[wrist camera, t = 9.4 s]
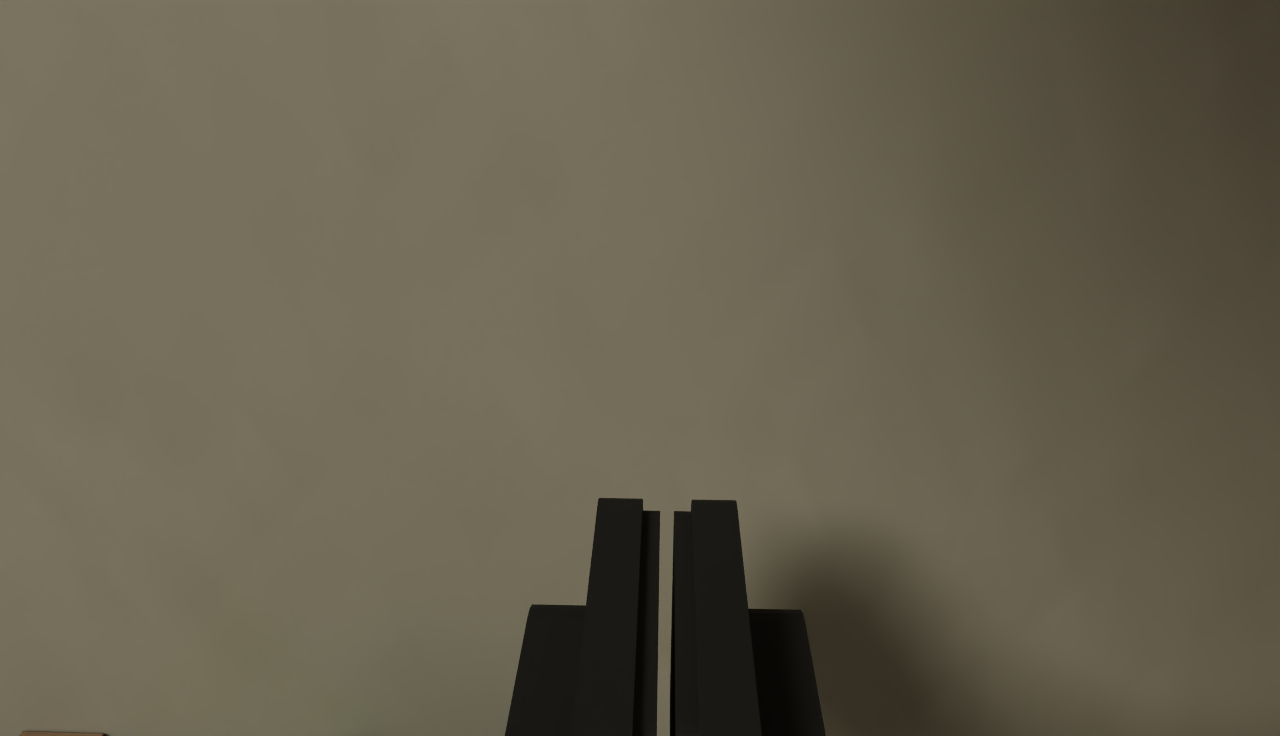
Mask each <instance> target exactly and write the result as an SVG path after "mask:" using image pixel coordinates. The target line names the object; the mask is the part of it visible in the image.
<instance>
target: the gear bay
mask: <svg viewBox="0 0 1280 736" xmlns="http://www.w3.org/2000/svg"><path fill="white" fill-rule="evenodd" d="M20 736H104V734H98V733H63V732H29V731H23V732H22V733H21V735H20Z"/></svg>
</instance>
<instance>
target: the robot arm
mask: <svg viewBox="0 0 1280 736" xmlns="http://www.w3.org/2000/svg"><path fill="white" fill-rule="evenodd" d="M659 540H660V511H643V499H624V498H599V499H598V506H597V515H596V524H595V532H594V541H593V550H592V558H591V567H590V576H589V585H588V593H587V602H586V606H579V605H532V606H531V607H530V610H529V614H528V618H527V623H526V628H525V634H524V639H523V644H522V649H521V654H520V660H519V665H518V670H517V675H516V680H515V686H514V691H513V696H512V701H511V706H510V712H509V717H508V722H507V727H506V732H505V736H657V675H658V607H659ZM670 736H826V735H825V729H824V724H823V718H822V713H821V707H820V702H819V696H818V691H817V685H816V680H815V674H814V669H813V663H812V658H811V652H810V647H809V641H808V636H807V630H806V625H805V620H804V616H803V613H802V611H801V610H779V609H748V603H747V594H746V584H745V575H744V566H743V557H742V547H741V538H740V529H739V519H738V510H737V503H736V500H692V502H691V512H688V511H674V539H673V584H672V630H671V675H670Z"/></svg>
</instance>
